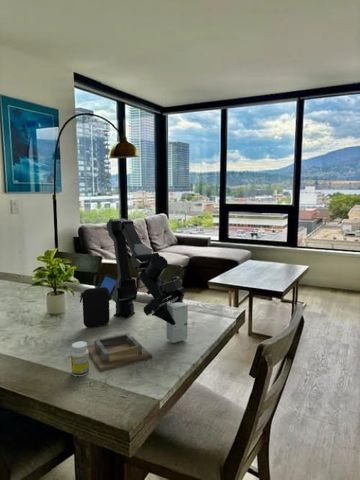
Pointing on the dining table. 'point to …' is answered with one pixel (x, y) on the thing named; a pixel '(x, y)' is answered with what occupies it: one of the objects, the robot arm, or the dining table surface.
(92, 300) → the carrying case or bag
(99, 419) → the dining table surface
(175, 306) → the skincare box
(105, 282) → the game console
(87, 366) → the supplement bottle
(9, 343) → the dining table surface
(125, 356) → the sleeve holder
